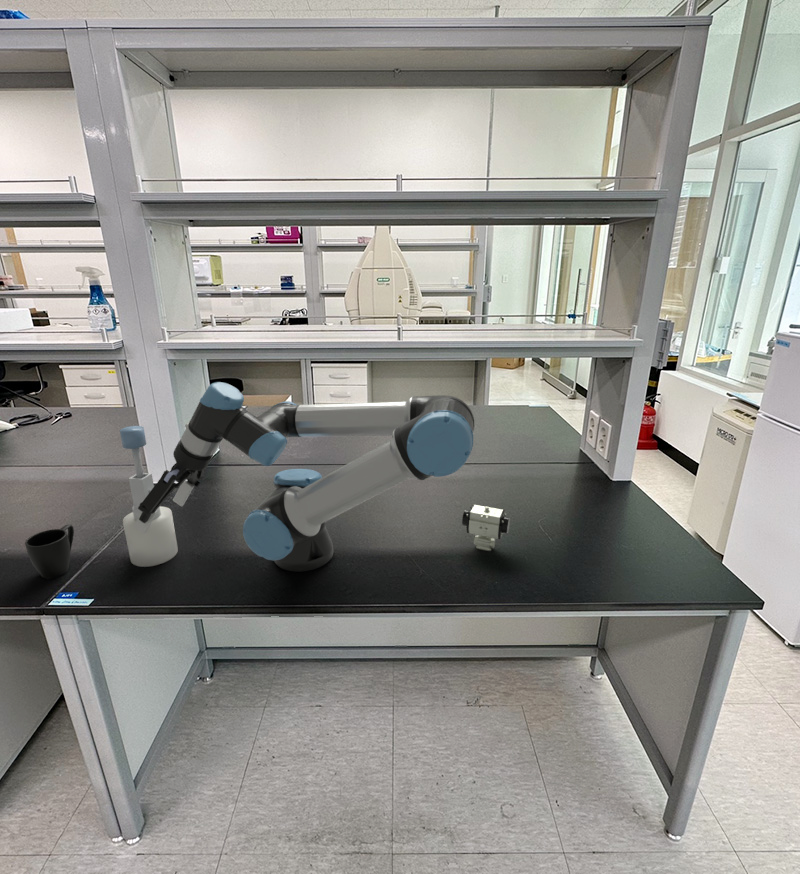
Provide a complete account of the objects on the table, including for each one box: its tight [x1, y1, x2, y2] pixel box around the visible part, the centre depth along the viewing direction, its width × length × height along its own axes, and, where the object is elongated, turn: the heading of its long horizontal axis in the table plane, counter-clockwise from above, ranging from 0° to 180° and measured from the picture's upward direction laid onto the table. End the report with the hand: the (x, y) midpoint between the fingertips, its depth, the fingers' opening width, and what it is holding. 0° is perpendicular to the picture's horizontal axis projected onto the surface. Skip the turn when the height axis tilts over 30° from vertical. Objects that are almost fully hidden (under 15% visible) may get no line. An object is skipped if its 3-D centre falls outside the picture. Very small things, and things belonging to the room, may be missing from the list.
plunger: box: [119, 425, 147, 479], centre depth 116 cm, size 5×5×13 cm
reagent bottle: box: [122, 472, 179, 568], centre depth 122 cm, size 11×11×22 cm
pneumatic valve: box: [461, 504, 511, 552], centre depth 127 cm, size 6×12×12 cm, turn 69°
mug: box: [24, 524, 75, 580], centre depth 118 cm, size 8×12×10 cm
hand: (159, 515), depth 112 cm, fingers open, 13 cm apart
